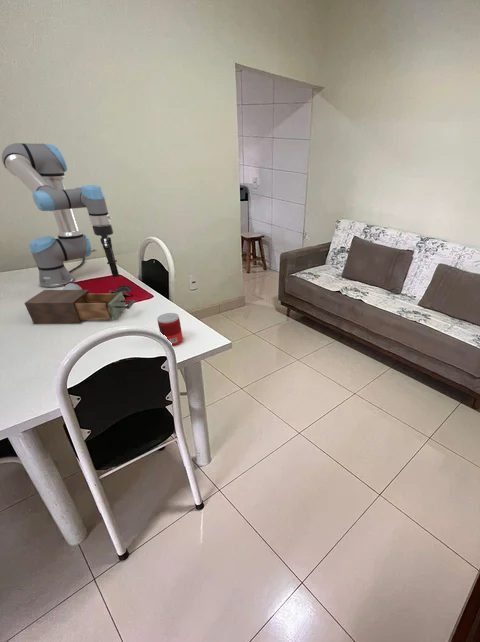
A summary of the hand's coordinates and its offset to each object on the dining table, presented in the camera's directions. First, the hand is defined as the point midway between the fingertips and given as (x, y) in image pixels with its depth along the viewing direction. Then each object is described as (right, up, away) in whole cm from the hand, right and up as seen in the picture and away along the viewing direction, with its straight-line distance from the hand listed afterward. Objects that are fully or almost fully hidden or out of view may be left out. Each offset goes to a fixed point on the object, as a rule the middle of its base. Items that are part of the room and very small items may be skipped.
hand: (115, 276), depth 156 cm
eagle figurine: (-1, -10, +8) cm, 13 cm away
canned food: (+37, -32, -25) cm, 56 cm away
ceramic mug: (-21, -11, +4) cm, 24 cm away
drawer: (+2, -19, -9) cm, 22 cm away
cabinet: (-17, -21, -10) cm, 28 cm away
